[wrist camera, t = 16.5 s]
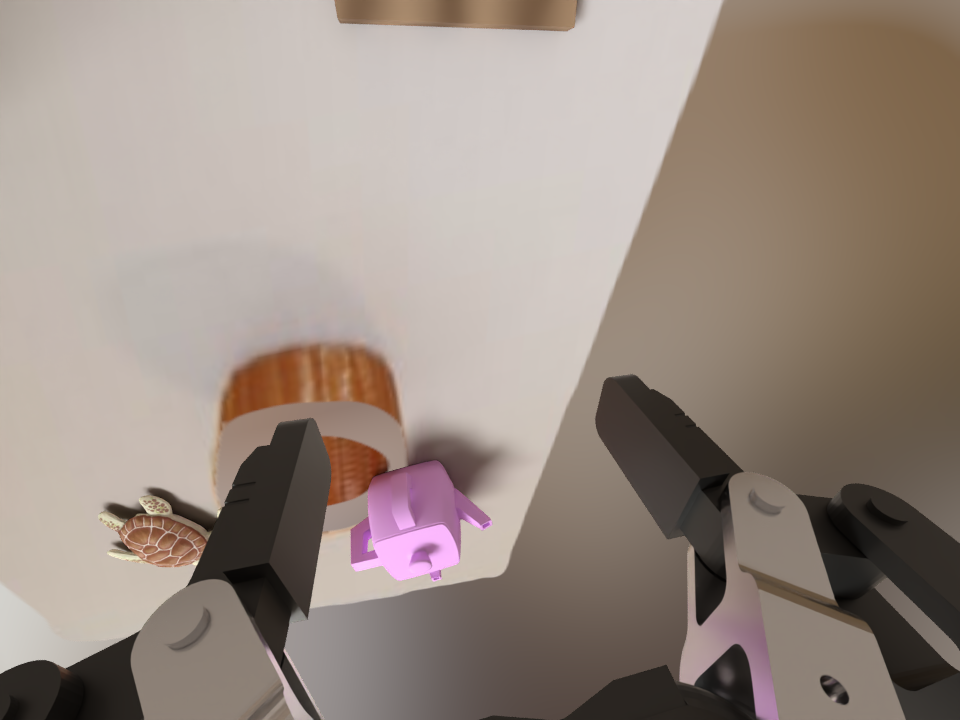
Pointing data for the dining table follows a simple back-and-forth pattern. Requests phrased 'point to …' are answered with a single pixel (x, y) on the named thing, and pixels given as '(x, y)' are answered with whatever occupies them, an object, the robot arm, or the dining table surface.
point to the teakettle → (413, 522)
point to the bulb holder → (462, 13)
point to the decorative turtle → (158, 535)
